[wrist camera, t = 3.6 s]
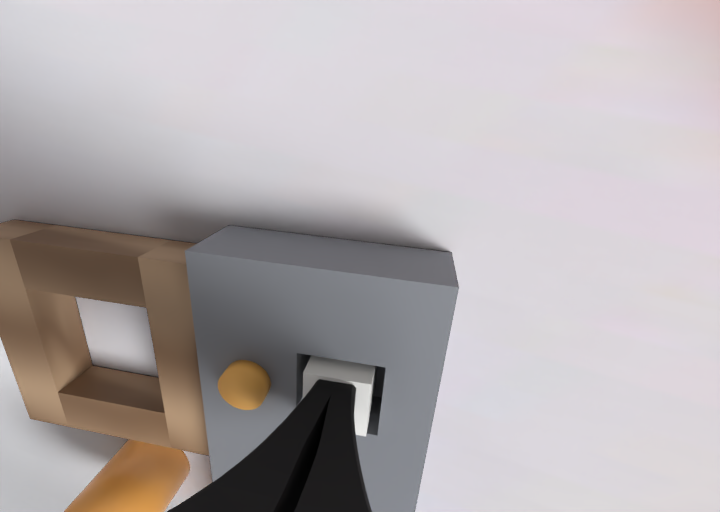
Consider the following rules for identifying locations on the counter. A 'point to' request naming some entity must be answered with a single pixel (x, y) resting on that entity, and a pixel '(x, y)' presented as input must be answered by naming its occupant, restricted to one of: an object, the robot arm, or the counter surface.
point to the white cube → (349, 374)
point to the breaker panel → (321, 342)
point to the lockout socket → (67, 339)
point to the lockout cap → (135, 480)
